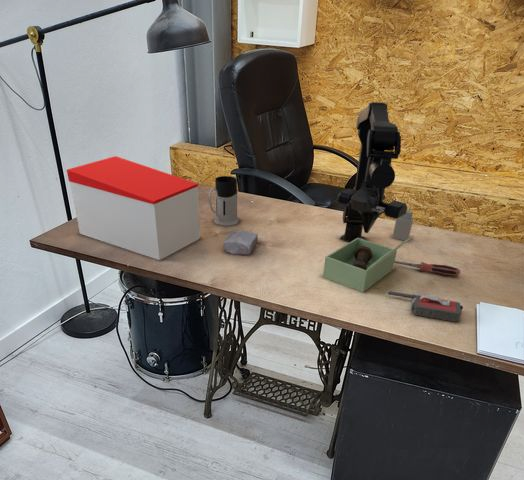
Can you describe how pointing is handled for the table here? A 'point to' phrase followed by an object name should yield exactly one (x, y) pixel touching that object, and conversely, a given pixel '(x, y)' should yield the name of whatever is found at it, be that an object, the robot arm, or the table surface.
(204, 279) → the table surface
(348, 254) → the carton
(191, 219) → the red-lidded white box
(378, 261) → the flap
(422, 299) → the walkie-talkie
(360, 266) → the bolt
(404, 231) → the power adapter
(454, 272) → the screwdriver
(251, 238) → the stone block
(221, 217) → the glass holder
